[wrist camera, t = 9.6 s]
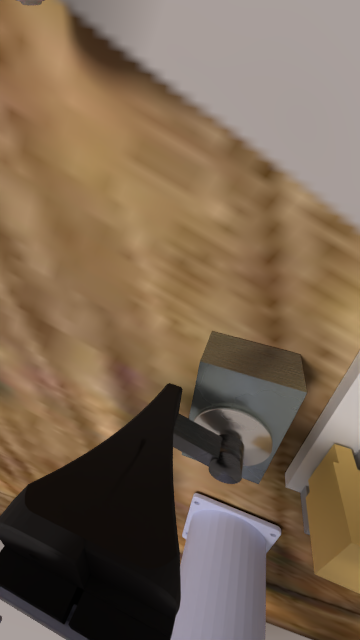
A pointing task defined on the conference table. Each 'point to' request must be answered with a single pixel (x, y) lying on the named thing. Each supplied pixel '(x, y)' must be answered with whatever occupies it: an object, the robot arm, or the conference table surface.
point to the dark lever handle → (210, 449)
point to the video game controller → (31, 2)
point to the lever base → (248, 396)
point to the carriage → (336, 518)
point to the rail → (329, 435)
